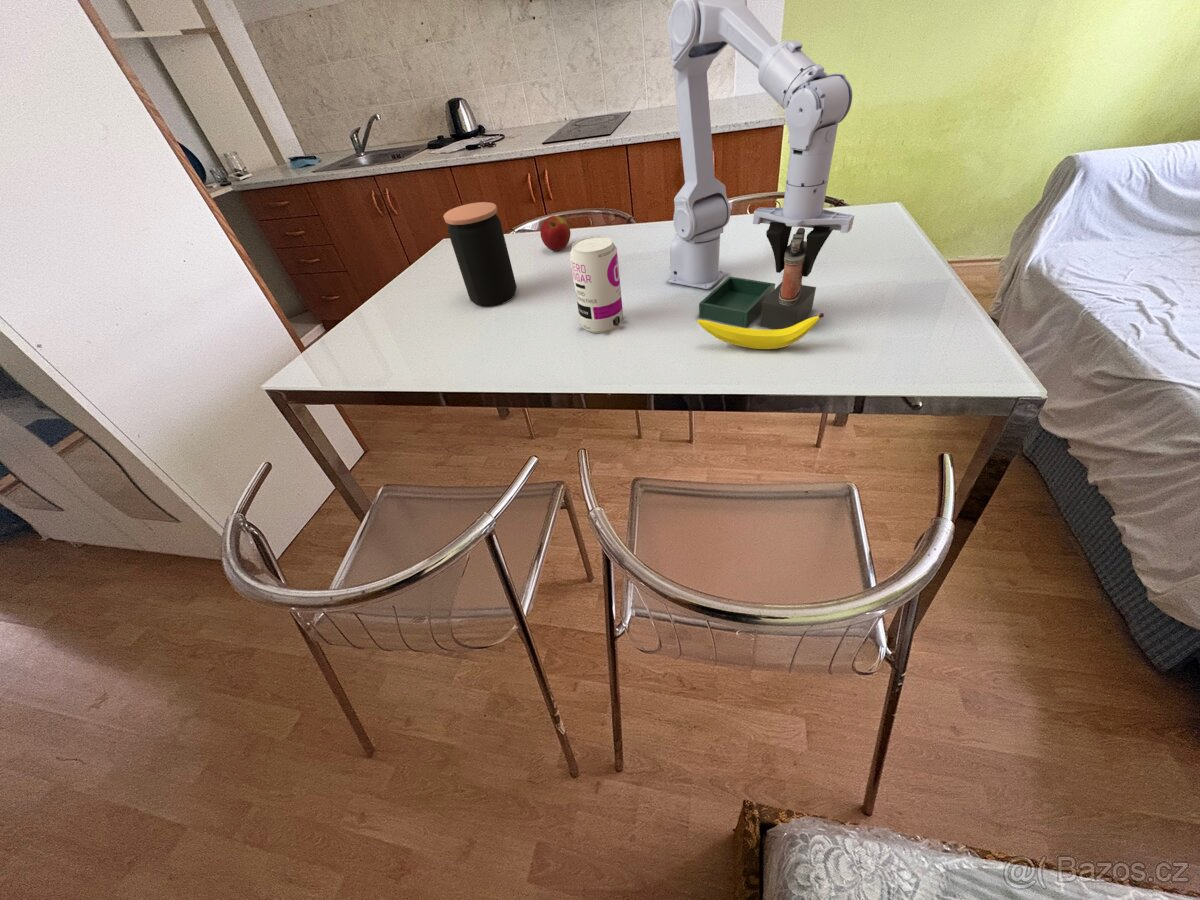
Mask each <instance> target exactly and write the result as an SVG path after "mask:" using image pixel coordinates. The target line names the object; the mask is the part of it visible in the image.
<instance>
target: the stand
mask: <svg viewBox="0 0 1200 900" xmlns="http://www.w3.org/2000/svg"><path fill="white" fill-rule="evenodd" d="M781 287H782V281H781V282H780V283H779V284H778V285H777V286H776V287H775V290H774V291H773V292H772V293H771V294H770V295H769V296H768V297H767V298H766V299H765V300H764V301H763V302H762V311H761V312H760V322H759V326H760V327H762V328H766V329H770V330H776V329H784V328H788V327H791V326H793V325H796V324H798V323H800V322H802V321H804V320H806V319H808V316H809V315H810V314H811V313H812V311H813V306H814V301H815V296H816V291H817V286H810V285H806V284H802V290H801V295H800V297H799V299H798V301H797V302H796V303H795V304H793V305H783V304H780V303H779V293H780V288H781Z"/></svg>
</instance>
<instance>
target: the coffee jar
mask: <svg viewBox="0 0 1200 900" xmlns="http://www.w3.org/2000/svg"><path fill="white" fill-rule="evenodd" d="M497 212H498V206H497V205H496V204H495V203H493V202H488V201H482V202H481V201H480V202H479V201H478V202H471V203H467V204H462V205H459V206H456V207H454V208H451V209H449V210H448V211H446V212H445V213H444V214H443V215H442V218H443V220H444V222H445V224H447V225H448V226H447V233H448V236H449V240H450V242H451V245H452V248H453V251H454V256H455V258H456V261H457V263H458V267H459V270H460V273H461V277H462V280H463V283H464V286H465V289H466V292H467V295H468V298H469V300H470V301H471V302H473V304H474V305H476V307H477V306H478V307H482V308H484V307H485V308H488V307H496V306H499V305H503V304H505V303H507V302H509V301H511V300H512V299H513V298H515V295H516V292H517V287H518V286H517V282H516V278H515V275H514V271H513V267H512V262H511V259H510V254H509V250H508V246H507V243H506V238H505V234H504V230H503V227H502V222H501V218H499V216H498V215H497Z"/></svg>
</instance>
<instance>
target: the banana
mask: <svg viewBox="0 0 1200 900" xmlns="http://www.w3.org/2000/svg"><path fill="white" fill-rule="evenodd" d="M824 316H825V313H823V312H821V313H820V314H818V315H816V316H812V317H809V318H806V319H805V320H804V321H802V322H800V323H798V324H796V325H793V326H791V327H788V328H784V329H762V328H761V329H759V328H748V327H741V326H736V325H730V324H724V323H723V324H722V323H720V322H716V321H712V320H708V319H696V323H698V324H699V326H700V327H701V328H702V329H703V330H704V331H706V332H707V333H709V334H710V335H711V336H713V337H714V338H715V339H718V340H720V341H722V342H724V343H727V344H732V345H735V346H739V347H743V348H748V349H758V350H774V349H780V348H784V347H787V346H790V345H792V344H794V343H796V342H798V341H799V340H801V339H802V338H803V337H804V336H806V335H807V334H808V333H810V331H811V330H812V329H813V328H814V327H815V326H816V324H817V323H818V322H819V320H820V319H821V318H824Z"/></svg>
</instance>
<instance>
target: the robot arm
mask: <svg viewBox="0 0 1200 900" xmlns="http://www.w3.org/2000/svg"><path fill="white" fill-rule="evenodd" d="M667 33H668V42H669V51H670V61H671V68H672V71H673V81H674V89H675V99H676V109H677V118H678V119H677V120H678V127H679V139H680V148H681V149H680V150H681V157H682V167H683V175H684V184H683V186H682V187H681V188H680V189H679V191H678V192H677V194H676V195H675V197H674V199H673V203H674V212H673V219H672V222H673V228H674V230H675V232H676V234H675V235H674V236H673V238H672V240H671V242H670V247H669V273H670V274H669V276H670V278H669V279H668V283H670V284H676V285H681V286H687V287H693V288H698V289H703V290H710V289H712V287H713V286H715V285H716V284H717V283H718V282H719V281H720V280H721V279H723V278H724V277H725V276H726V275H727V272H726V271H724V270H720V269H719V268H720V246H721V234H723V233H724V227H726V226H727V225H728V223H729V222H730V220H731V219H730V218H731V214H732V213H731V205H730V202H729V199H728V195H727V190H726V189H727V188H726V187H727V186H726V185H725V184H724V183H723V182H721V181H720V180H719V179H717V178H716V177H715V165H714V164H715V163H714V152H713V151H714V150H713V149H714V148H713V137H712V125H711V123H712V122H711V111H710V109H711V108H710V99H709V97H710V96H709V87H708V86H709V83H708V71H709V69H710V67H711V66H712V64H713V62H714V60H715V59H716V58H718V56H719V55H720V54H721V53H722V52H723V50H724V49H726V48H727V46H728V45H729V46H730V47H732V49H734V50H735V51H736V52H737V53H739V54H740V55H741V56H742V57H743V58H744V59H746V60H747V61H748V62H749V63H751V64H752V65H753V66H754V67H755V68H756V69H757V70H758V75H757V77H758V79H757V81H758V84H759V85H760V87H762V88H763V89H764V91H766V92H767V94H768V95H769V96H771V97H772V99H773V100H774V101H775V102H776V103H777V104H778V105H779V106H780V107H781V108H782V109H783V110H784V121H785V125H786V127H787V129H788V130H787V131H788V140H787V143H788V144H789V145H788V146H789V149H790V150H789V157H788V165H787V172H786V180H785V189H784V195H783V196H784V197H783V203H782V204H783V205H782V206H781V207H758V208H756V209H755V210H754V211H753V216H752V217H753V218H752V224H753V225H760V224H766V225H767V224H769V226H768V229H767V230H766V232H765V235H766V238H767V240H768V242H769V244H770V247H771V250H772V254H773V258H774V264H775V265H774V266H775V273H778V274H780V273H782V272H783V271H784V266H785V262H784V256H785V251H786V248H787V247H788V245H789V242H790V237H791V232H792V228H810V229H812V230H810V232H809V233H807V234H806V242H807V246H806V258H805V263H804V267H803V275H802V277H805V278H807V277H808V276H809V275H810V274H811V273H812V271H813V267H814V264H815V262H816V260H817V258H818V255H819V253H820V251H821V250H822V248H823V246H824V245H825V243H826V241H827V240H828V239H829V237H830V235H831V234H832V232H833V231H840V233H843V234H848V233H849V232H850V231H851V230H852V228H853V223H854V220H855V216H856V215H855V214H850V213H849V214H848V213H842V212H837V211H833V210H828V209H824V207H825V202H826V196H827V189H828V183H829V178H830V172H831V168H832V167H831V166H832V162H833V156H834V155H833V154H834V150H835V144H836V138H837V132H838V127H839V124H840V123H841V122H842V121H843V120H845V119H846V117H847V116H848V114H849V112H850V110H851V107H852V102H853V88H852V85H851V83H850V81H849V79H848V78H847V77H846V75H845V74H844V73H841V72H835V73H831V74H830V73H828V72H825V67H824V66H823V65H822V64H821V63H817V64H816V63H815V62H814V61H813V60H812V59H811V58H810V57H809V55H807V54H806V53H805V52H804V51H803V50H802V49H803V46H804V45H803V43H802V42H801V41H799V40H798V39H795V40H789V39H788V40H783V41H780V42H778V41H777V40H776V39H775V37H773V36H772V34H771V33H770V32H769V31H768V29H767V28H766V27H765V26H764V25H763V24H762V22H761V21H760V20H759V19H758V18H757V17H756V16H755V14H754V13H753V12H752V11H751V10H750V9H749V7H748V0H675V2H674V4H673V6H672V9H671V11H670V13H669V16H668V19H667Z"/></svg>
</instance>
